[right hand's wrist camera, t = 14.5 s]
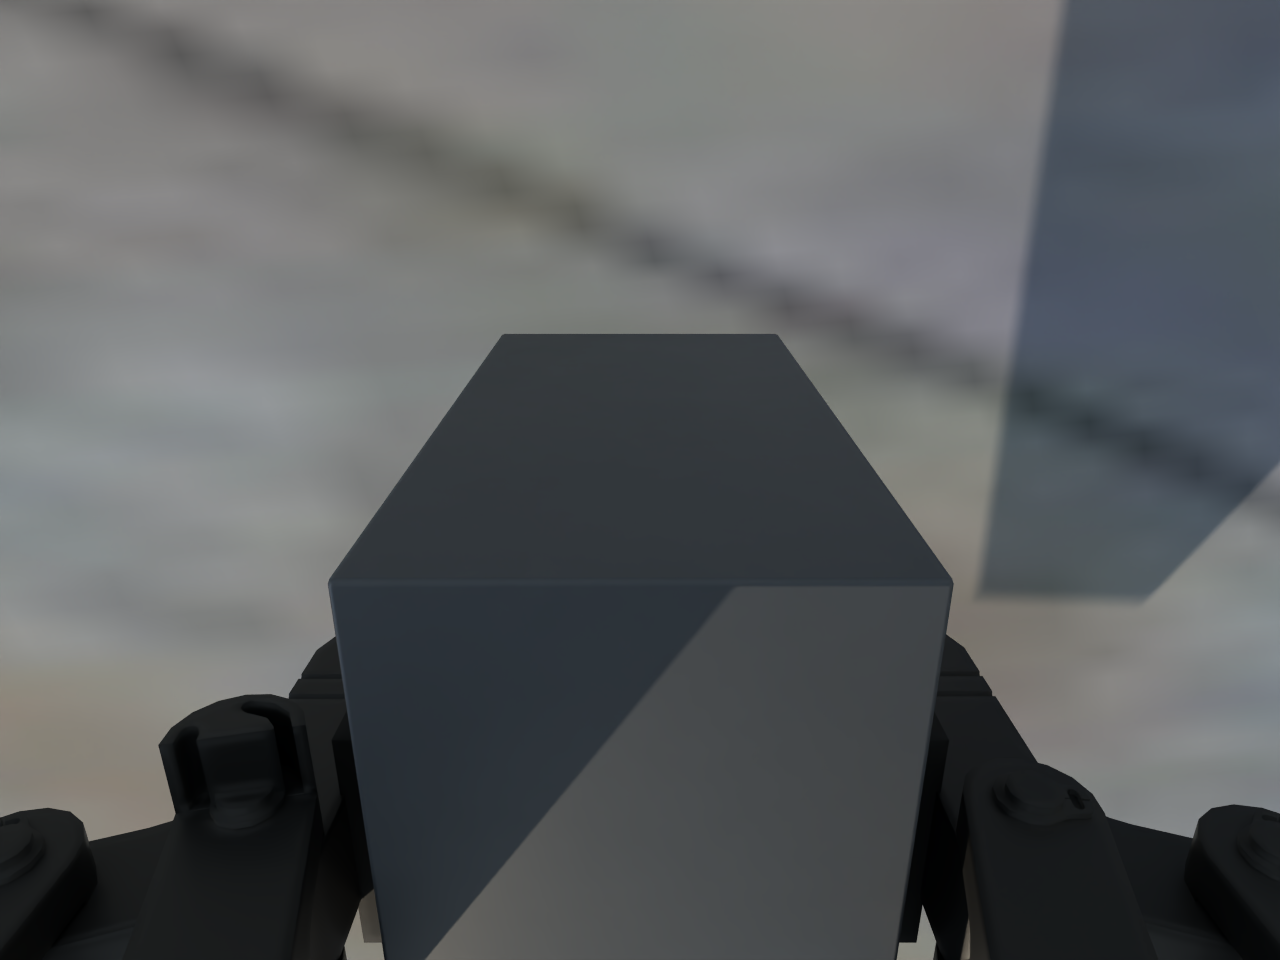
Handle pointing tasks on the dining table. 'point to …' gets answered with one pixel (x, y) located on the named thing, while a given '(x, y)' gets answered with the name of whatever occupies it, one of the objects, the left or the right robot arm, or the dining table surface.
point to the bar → (640, 665)
